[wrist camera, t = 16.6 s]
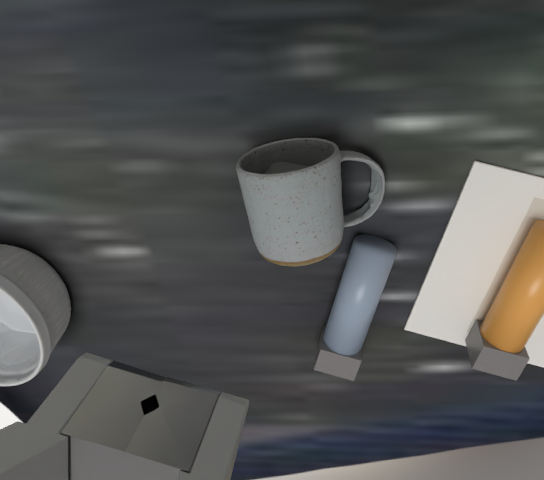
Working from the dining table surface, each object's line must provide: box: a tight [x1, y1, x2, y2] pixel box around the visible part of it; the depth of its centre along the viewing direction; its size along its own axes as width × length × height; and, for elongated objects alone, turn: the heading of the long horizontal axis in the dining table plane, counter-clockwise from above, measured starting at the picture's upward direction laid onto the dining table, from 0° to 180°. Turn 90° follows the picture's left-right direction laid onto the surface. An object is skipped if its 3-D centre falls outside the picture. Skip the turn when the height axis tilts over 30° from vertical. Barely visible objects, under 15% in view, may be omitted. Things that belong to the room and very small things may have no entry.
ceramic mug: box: [236, 138, 385, 266], centre depth 36 cm, size 10×8×7 cm
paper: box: [404, 160, 544, 367], centre depth 40 cm, size 16×14×1 cm
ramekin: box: [0, 244, 71, 386], centre depth 48 cm, size 13×13×7 cm
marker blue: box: [314, 235, 397, 381], centre depth 42 cm, size 12×4×4 cm, turn 169°
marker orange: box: [465, 220, 544, 381], centre depth 39 cm, size 12×4×4 cm, turn 169°
